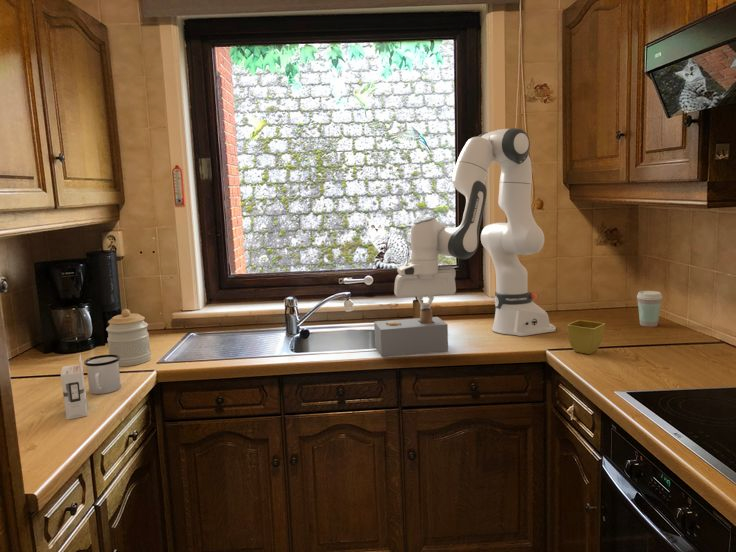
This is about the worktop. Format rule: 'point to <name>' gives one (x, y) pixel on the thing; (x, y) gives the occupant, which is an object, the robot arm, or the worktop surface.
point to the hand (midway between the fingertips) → (425, 309)
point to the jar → (129, 338)
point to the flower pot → (585, 335)
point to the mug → (103, 374)
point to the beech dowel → (394, 324)
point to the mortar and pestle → (416, 308)
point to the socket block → (411, 337)
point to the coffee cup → (649, 307)
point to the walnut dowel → (425, 316)
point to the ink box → (74, 391)
